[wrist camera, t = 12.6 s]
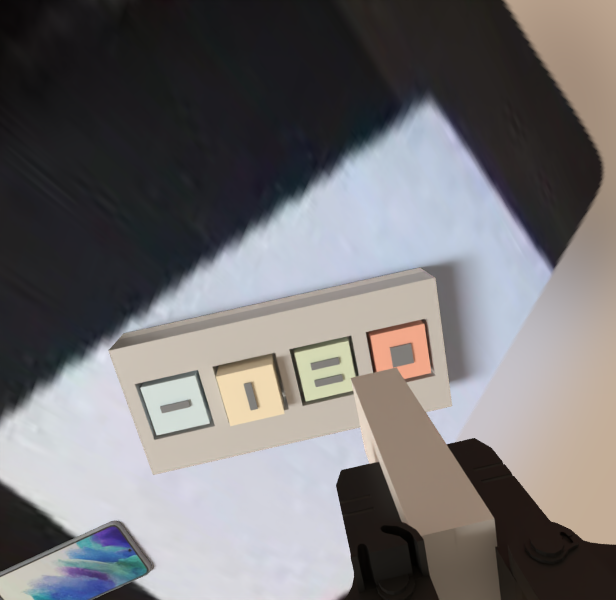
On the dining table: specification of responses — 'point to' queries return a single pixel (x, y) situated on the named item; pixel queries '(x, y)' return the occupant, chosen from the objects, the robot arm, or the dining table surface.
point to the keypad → (277, 363)
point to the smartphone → (78, 567)
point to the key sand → (250, 389)
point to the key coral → (400, 349)
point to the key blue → (176, 402)
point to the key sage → (325, 368)
